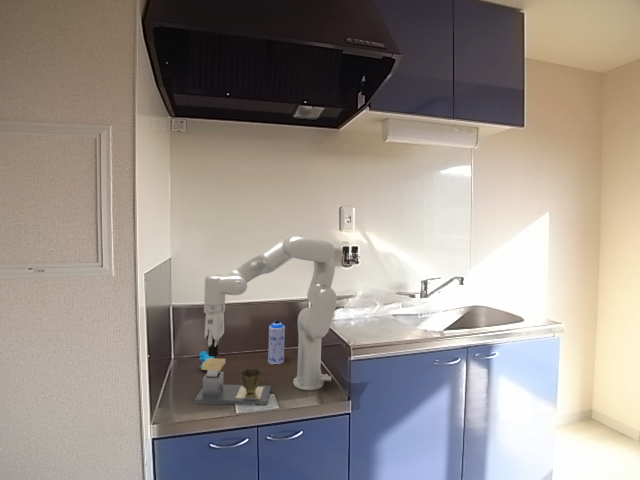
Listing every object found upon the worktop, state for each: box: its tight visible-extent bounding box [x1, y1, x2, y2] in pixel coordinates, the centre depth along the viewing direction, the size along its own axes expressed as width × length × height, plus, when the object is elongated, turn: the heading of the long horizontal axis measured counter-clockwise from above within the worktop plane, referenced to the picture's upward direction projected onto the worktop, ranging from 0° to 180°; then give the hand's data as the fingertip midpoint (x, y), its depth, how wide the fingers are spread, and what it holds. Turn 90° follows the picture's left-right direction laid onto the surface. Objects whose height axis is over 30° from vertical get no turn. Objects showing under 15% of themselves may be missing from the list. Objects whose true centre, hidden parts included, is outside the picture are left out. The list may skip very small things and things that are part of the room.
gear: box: [198, 350, 215, 370], centre depth 157 cm, size 11×6×10 cm
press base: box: [193, 371, 271, 406], centre depth 132 cm, size 26×12×8 cm, turn 91°
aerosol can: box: [267, 318, 286, 365], centre depth 166 cm, size 8×8×20 cm
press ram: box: [200, 357, 226, 378], centre depth 132 cm, size 7×7×8 cm
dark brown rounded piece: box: [240, 367, 262, 394], centre depth 133 cm, size 8×7×8 cm
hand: (213, 355), depth 132 cm, fingers closed
